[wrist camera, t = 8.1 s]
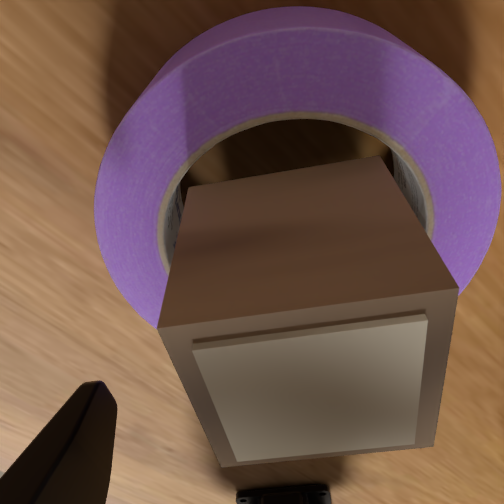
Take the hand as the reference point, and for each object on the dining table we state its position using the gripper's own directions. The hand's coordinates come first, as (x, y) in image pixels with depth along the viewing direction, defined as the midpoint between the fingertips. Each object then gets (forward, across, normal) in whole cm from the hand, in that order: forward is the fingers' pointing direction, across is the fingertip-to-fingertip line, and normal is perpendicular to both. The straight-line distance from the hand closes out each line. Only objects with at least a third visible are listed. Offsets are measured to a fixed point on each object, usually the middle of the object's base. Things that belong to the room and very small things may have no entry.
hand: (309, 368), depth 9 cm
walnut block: (+4, 0, 0) cm, 4 cm away
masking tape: (+8, 0, 0) cm, 8 cm away
